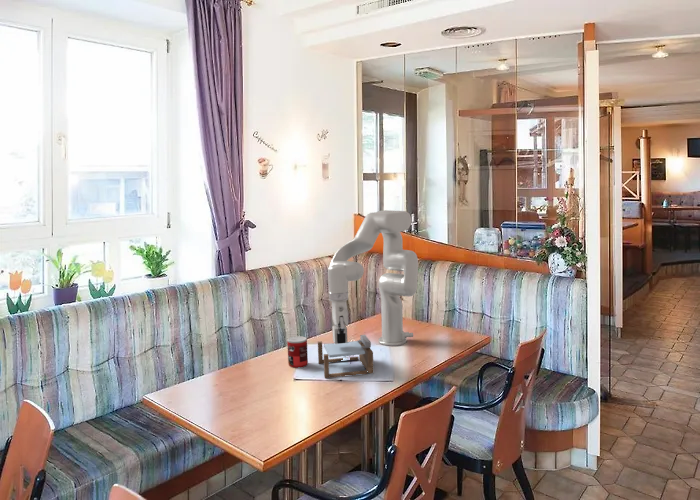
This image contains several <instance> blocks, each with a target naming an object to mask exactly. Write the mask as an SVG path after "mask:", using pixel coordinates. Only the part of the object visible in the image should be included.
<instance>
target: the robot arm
mask: <svg viewBox="0 0 700 500" xmlns="http://www.w3.org/2000/svg"><path fill="white" fill-rule="evenodd" d="M411 225H412V216H411V214H410V213H409V212H408V211H406V210H391V209H389V210H387V209H386V210H379V211H376V212H369V213H367V215H365V216H364V219H363V220H362V223H361V224H360V226H359V228H358V230H357V232H356V234H355V236H354V238H352V239H351V240H349V241H348V242H346V243H345V244H344V245H342V246H340V248H339V249H338V250H336V252H335V253H334V255H333V257H332V259H331V261H330V264H329V266H328V268H327V277H328V278H327V281H328V283H327V284H328V301H329V302H331V316H332V317H331V318H332V322H333V324H334V326H335V325H336V326H337V330H338V333H337V343H338V344H339V343H345V342H346V339H345V326H346V327H347V326H348V325H349V316H348V307H347V305H348V304H347V301H348V300H349V282H356V281H358V280H360V279H361V278H362V277H363V275H364V272H365V269H364V266H363V265H362V263H360V262H356V261H349V260H350V259H351V258H353V257H355V256H358V255H361V254H364V253H367V252H369V251H370V250H372V249H373V247H374V245H375V243H376V241H377V239H378V237H379V235H380V234H381V235H382V239H383V248H382V249H383V250H382V252H383V254H382V264H383V268H385V269H386V270H389V271H395V272H403V274H401V273H395V272H393V273H392V272H387V273H384V274H382V275H380V277H379V279H378V289H379V293H380V295H379V296H380V303H381V304H380V306H381V307H380V308H381V309H380V310H381V317H380V318H381V336H380V337H379V338H378V343H379V344H380V345H383V346H391V347H393V346H401V345H404V344H406V343H407V338H413V337H414V333H413V332H409V331H406V332H404V325H403V321H404V320H403V314H404V313H403V302H402V298H401V297H412V296H414V295H416V292H417V289H418V276H419V275H418V274H419V259H418V255H417V253H416V252H415V251H413V250H408V249H404V248H403V247H404V246H403V244H404V243H403V235H402V233H401V232H405V231H407V230H408V229H410V227H411ZM400 296H401V297H400ZM339 325H340V326H339ZM344 325H345V326H344ZM339 327H340V329H339Z"/></svg>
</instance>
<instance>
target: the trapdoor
mask: <svg viewBox="0 0 700 500" xmlns="http://www.w3.org/2000/svg"><path fill="white" fill-rule="evenodd" d="M359 337H360V339H358V340H356V341H355V340H353V341H347V342H348V343H341V344H335V343H334V342H333V343H324V344H323V348H324V349H325V351H326V354H328V357H329V359H332V358H339V357H340V358H341V357H348V356H349V357H351V356H358V355H360V354H365V351H364V349H363V348H370V349H371V347H372V346H371V345H372V343H371V340H370V338H368V336H367V335H366V334H361V335H360V336H359ZM359 342H362V343H363V344H364V345H365V346H361V345H360V344H359Z"/></svg>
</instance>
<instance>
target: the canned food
mask: <svg viewBox="0 0 700 500" xmlns="http://www.w3.org/2000/svg"><path fill="white" fill-rule="evenodd" d="M286 342H287V362H288V366H289V367H291V368H295V369H298V367H300V368H305V367H306V366H307V365H308V363H309V361H308V359H309V358H308V339H307V337H305V336H302V335H300V336H299V335H298V336H290V337H288V338H287V341H286ZM304 366H305V367H304Z"/></svg>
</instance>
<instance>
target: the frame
mask: <svg viewBox="0 0 700 500" xmlns="http://www.w3.org/2000/svg"><path fill="white" fill-rule="evenodd" d="M359 344H360V345H361V346H365V345H364V344H363V343H362V342H359ZM363 349H364V351H365V354H360V355H359V356H349V357H350V360H355V361H360V363H361V362H362V363H361V365H364V366H363V368H364V369H365V368H366V369H365V370H356V371H353V370H352V371H345V372H335V373H330V363H329V362H333V363H338V362H337V361H341V360H343V358H344V357H340V358H339V357H336V358H329V355H328V353H324V354H323V352H324V351H323V342H322V341H317V355H318V358H317V362H318V365H323V367H324V368H323V375H324V379H330V378H338V377H337V376H342V377H346V376H345V375H352V376H357V375H356V374H362V375H368V373H370V374H374V351H373V350H372V349H371V348H363ZM359 359H360V360H359ZM367 371H368V372H367Z"/></svg>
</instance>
